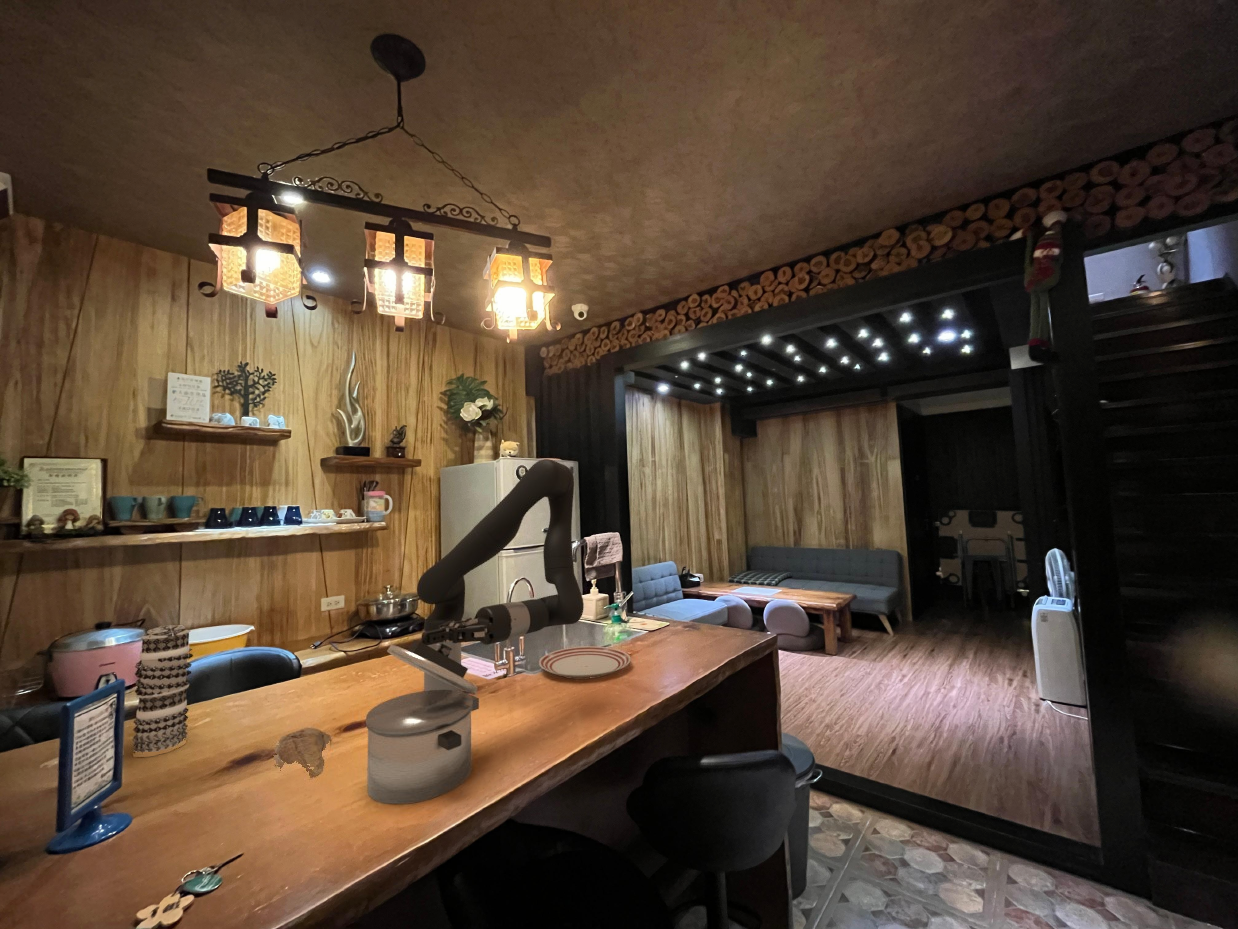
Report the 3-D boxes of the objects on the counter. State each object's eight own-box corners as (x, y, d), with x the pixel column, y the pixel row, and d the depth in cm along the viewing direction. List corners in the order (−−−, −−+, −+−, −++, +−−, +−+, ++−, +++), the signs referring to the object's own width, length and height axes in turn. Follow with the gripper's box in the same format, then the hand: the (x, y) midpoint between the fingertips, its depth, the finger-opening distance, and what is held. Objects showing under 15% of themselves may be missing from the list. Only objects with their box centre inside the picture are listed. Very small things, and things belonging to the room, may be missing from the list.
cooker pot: (376, 757, 98) (377, 694, 99) (478, 741, 104) (477, 681, 105) (352, 822, 77) (353, 740, 78) (481, 797, 83) (480, 721, 84)
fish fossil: (344, 771, 94) (343, 765, 94) (278, 796, 87) (278, 790, 87) (318, 727, 113) (318, 722, 114) (263, 745, 107) (263, 739, 107)
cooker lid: (443, 682, 104) (457, 658, 107) (492, 702, 92) (506, 674, 95) (371, 644, 95) (388, 619, 97) (415, 661, 82) (433, 631, 85)
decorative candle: (197, 735, 112) (202, 620, 114) (175, 754, 103) (181, 629, 105) (146, 743, 109) (152, 624, 111) (119, 762, 100) (127, 633, 102)
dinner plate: (650, 667, 149) (649, 656, 150) (577, 692, 131) (577, 679, 131) (591, 651, 169) (590, 641, 170) (521, 671, 151) (521, 659, 151)
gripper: (485, 601, 110) (407, 614, 97) (521, 606, 101) (441, 622, 89) (485, 636, 109) (407, 654, 97) (522, 645, 101) (441, 666, 88)
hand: (423, 639), depth 93 cm, fingers closed
